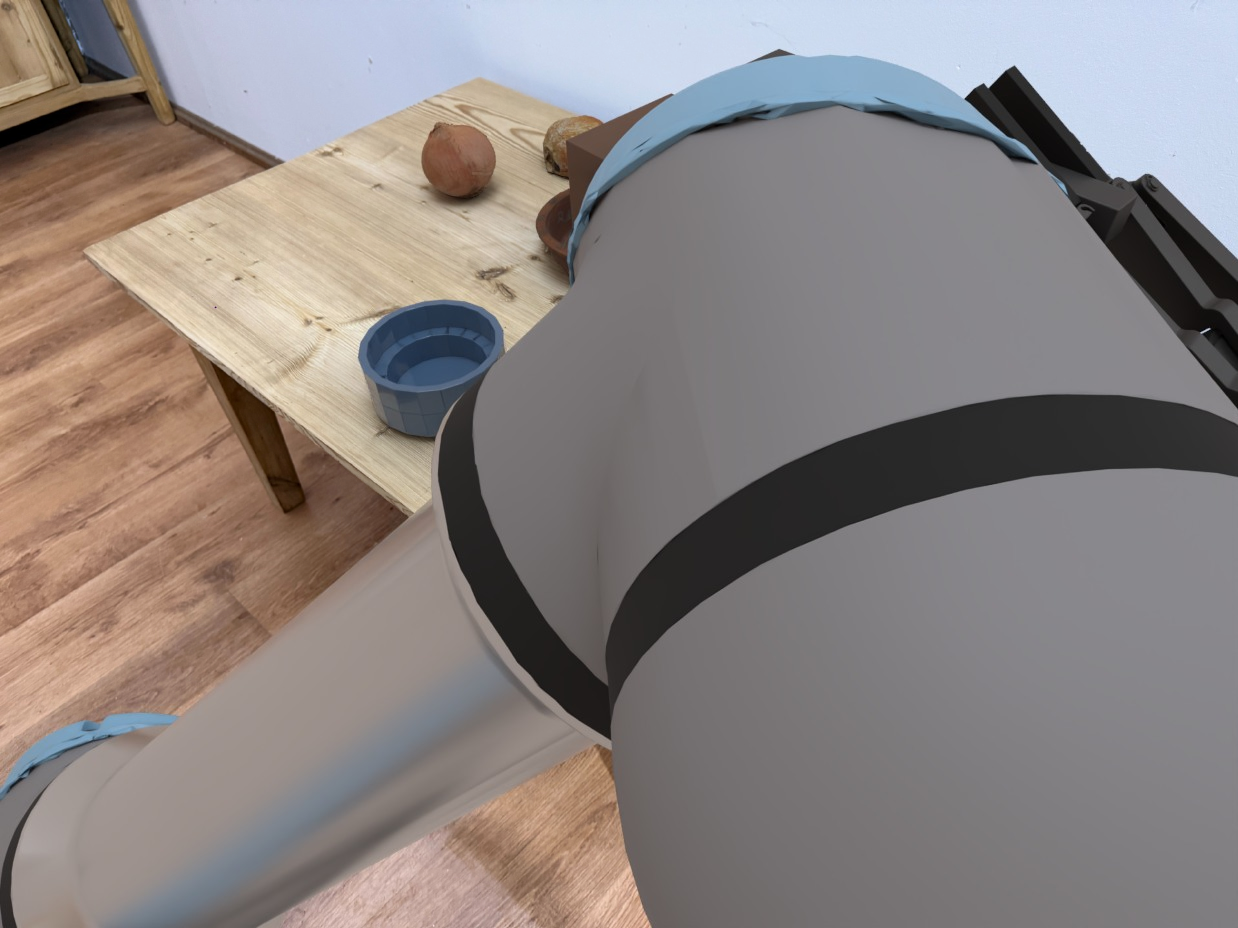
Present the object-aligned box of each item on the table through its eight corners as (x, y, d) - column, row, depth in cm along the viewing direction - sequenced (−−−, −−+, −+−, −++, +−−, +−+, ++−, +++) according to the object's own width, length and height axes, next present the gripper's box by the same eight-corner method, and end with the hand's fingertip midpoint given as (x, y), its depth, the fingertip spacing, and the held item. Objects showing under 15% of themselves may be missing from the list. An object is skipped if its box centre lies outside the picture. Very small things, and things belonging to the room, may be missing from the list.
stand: (759, 462, 77) (801, 148, 55) (682, 521, 73) (693, 206, 51) (667, 398, 83) (671, 93, 61) (590, 449, 79) (565, 140, 57)
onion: (442, 208, 115) (402, 137, 110) (503, 174, 115) (466, 103, 110) (450, 218, 106) (407, 142, 102) (515, 182, 107) (476, 105, 102)
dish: (625, 329, 91) (624, 290, 87) (499, 248, 102) (493, 211, 98) (733, 261, 99) (736, 224, 95) (605, 194, 110) (603, 158, 106)
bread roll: (541, 183, 119) (517, 143, 112) (585, 129, 121) (564, 86, 114) (592, 206, 115) (570, 166, 108) (637, 150, 116) (618, 106, 109)
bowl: (424, 464, 78) (409, 413, 73) (349, 393, 85) (331, 342, 81) (539, 394, 84) (532, 343, 79) (460, 333, 91) (449, 283, 87)
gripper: (1168, 641, 36) (823, 211, 38) (1300, 462, 42) (1001, 104, 44) (1362, 611, 29) (932, 91, 31) (1484, 404, 36) (1123, -15, 38)
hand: (973, 99), depth 38 cm, fingers closed on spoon, 2 cm apart
